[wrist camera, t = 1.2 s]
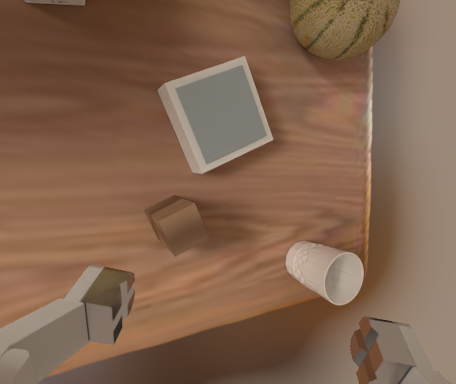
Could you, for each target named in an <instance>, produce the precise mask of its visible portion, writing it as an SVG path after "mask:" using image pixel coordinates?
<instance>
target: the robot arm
mask: <svg viewBox="0 0 456 384" xmlns="http://www.w3.org/2000/svg"><path fill="white" fill-rule="evenodd" d="M134 281H135V278H134V273H132V272H127V271H123V270H118V269H114V268H109V267H103V266H98V265H94V264H92V265H90V266H89V267H88V268H87V269H86V270H85V272H84V273H83V274H82V276H81V277H80V278H79V280H78V281H77V282H76V284H75V285H74V286H73V287H72V289H71V290H70V291H69V293H68V294H67V295H66V297H65V298H64V299H61V298H59V299H57V300H55V301H53V302H51V303H49V304H47V305H45V306H44V307H42V308H40V309H38V310H36V311H34V312H32V313H30V314H28V315H26V316H24V317H22V318H20V319H18V320H16V321H14V322H13V323H11V324H9V325H7V326H5V327H3V328H1V329H0V384H37V383H38V382H39V381H40V380H42V379H43V378H44V377H45V376H47V375H48V374H49V373H50V372H52V371H53V370H54V369H56V368H57V367H58V366H59V365H61V364H62V363H63V362H64V361H66V360H67V359H68V358H70V357H71V356H72V355H73V354H75V353H76V352H77V351H78V350H80V349H81V348H82V347H83V346H85V345H86V344H87V343H89V341H94V342H100V343H106V344H112V345H114V344H115V342H116V340H117V338H118V336H119V334H120V331H121V329H122V320H123V319H125V318H126V317H128V315H129V313H130V311H131V308H132V305H133V302H134V295H135V290H134V288H133V287H132V285H133V283H134ZM359 325H360V328H361V329H359V330H357V331H355V332H354V334H353V336H352V338H351V345H350V347H351V355H352V359H353V361H354V362H355V363H356V364H357V366H358V367H359V369H358V371H357V373H356V374H357V377H358V381H359V384H452V383H451V382H450V381H449V380H447V379H446V378H445V377H444V376H443V375H442V374H441V373H440V372H438V371H434V369H433V367H432V365H431V363H430V361H429V359H428V357H427V355H426V353H425V351H424V349H423V347H422V345H421V343H420V341H419V339H418V338H417V335H416V333H415V331H414V330H413V328H412V327H411V326H410V325H409V324H404V323H399V322H392V321H387V320H382V319H377V318H371V317H366V316H365V317H363V318H362V319H361V321H360V322H359Z"/></svg>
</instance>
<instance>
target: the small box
mask: <svg viewBox="0 0 456 384" xmlns="http://www.w3.org/2000/svg"><path fill="white" fill-rule="evenodd" d="M24 2H26V3H42V4H62V5H82V6H85V5H86V0H24Z"/></svg>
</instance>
